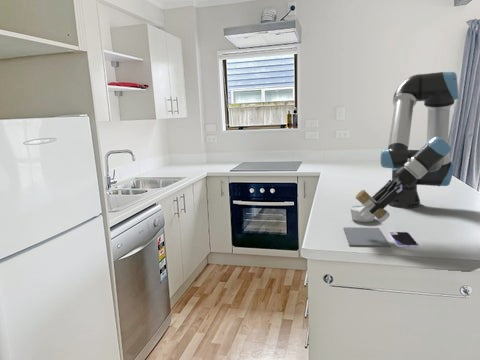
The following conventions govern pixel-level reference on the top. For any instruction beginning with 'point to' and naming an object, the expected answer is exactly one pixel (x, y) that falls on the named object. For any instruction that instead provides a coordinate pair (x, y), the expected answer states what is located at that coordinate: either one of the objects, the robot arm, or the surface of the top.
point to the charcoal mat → (366, 237)
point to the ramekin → (357, 215)
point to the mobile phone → (403, 239)
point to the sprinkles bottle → (368, 202)
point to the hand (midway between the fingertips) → (362, 216)
